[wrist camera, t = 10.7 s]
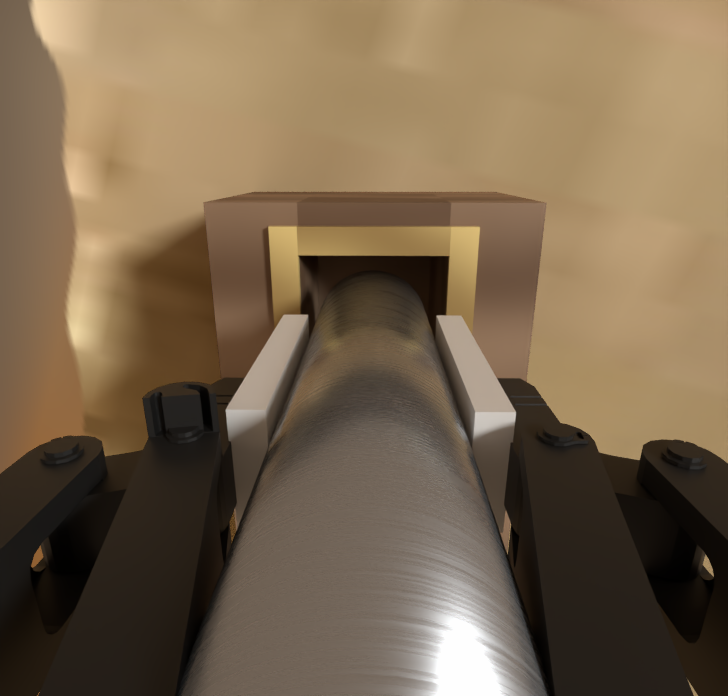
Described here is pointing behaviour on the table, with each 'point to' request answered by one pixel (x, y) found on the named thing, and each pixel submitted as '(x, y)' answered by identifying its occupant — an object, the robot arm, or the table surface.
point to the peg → (367, 531)
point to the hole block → (376, 264)
